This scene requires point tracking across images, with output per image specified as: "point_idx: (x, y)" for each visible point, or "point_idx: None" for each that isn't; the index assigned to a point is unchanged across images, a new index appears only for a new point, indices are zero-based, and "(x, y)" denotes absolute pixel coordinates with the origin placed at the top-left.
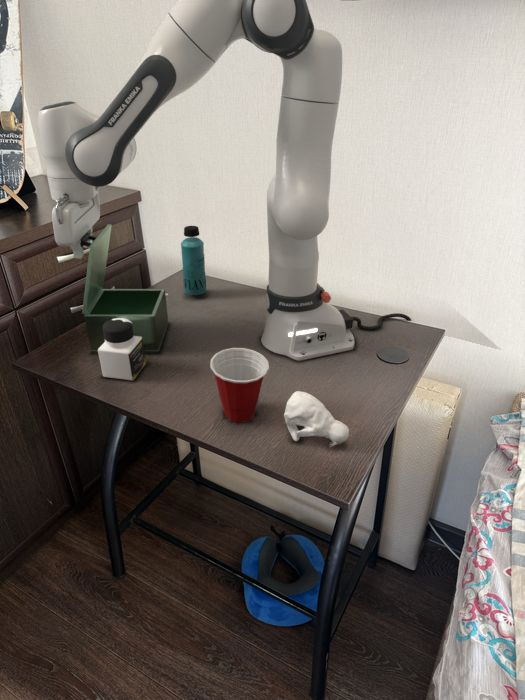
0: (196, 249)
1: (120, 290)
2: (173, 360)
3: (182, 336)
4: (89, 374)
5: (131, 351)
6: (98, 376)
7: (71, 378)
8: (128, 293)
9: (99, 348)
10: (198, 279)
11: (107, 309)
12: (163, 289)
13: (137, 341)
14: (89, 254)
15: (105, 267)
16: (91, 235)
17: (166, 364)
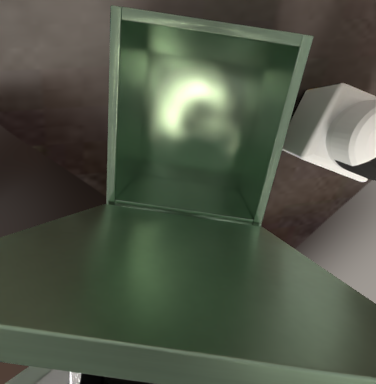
0: None
1: (116, 156)
2: (309, 26)
3: (206, 4)
4: (310, 188)
5: None
6: (321, 173)
7: (313, 213)
8: (120, 134)
9: (365, 179)
10: None
11: (131, 182)
12: (114, 10)
13: (364, 93)
14: None
15: (81, 214)
16: (37, 375)
17: (320, 43)
